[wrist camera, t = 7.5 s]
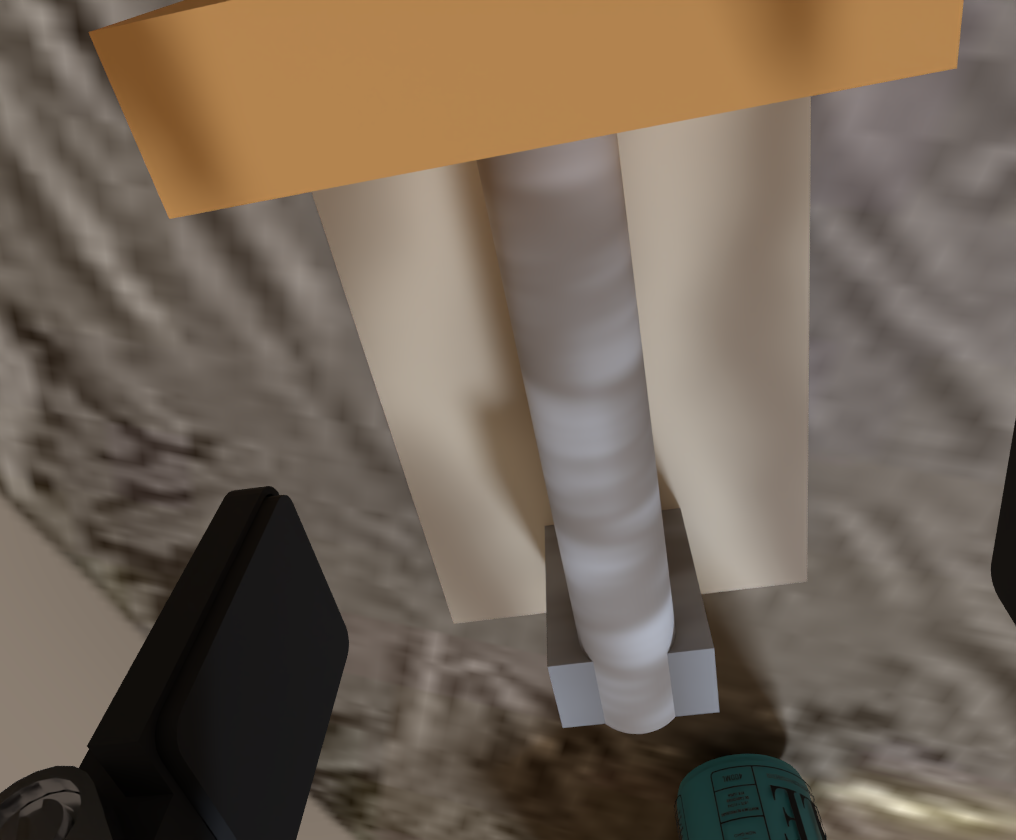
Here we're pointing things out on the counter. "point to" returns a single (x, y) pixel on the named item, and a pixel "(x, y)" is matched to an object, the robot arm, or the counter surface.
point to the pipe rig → (599, 386)
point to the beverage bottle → (746, 801)
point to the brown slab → (470, 78)
